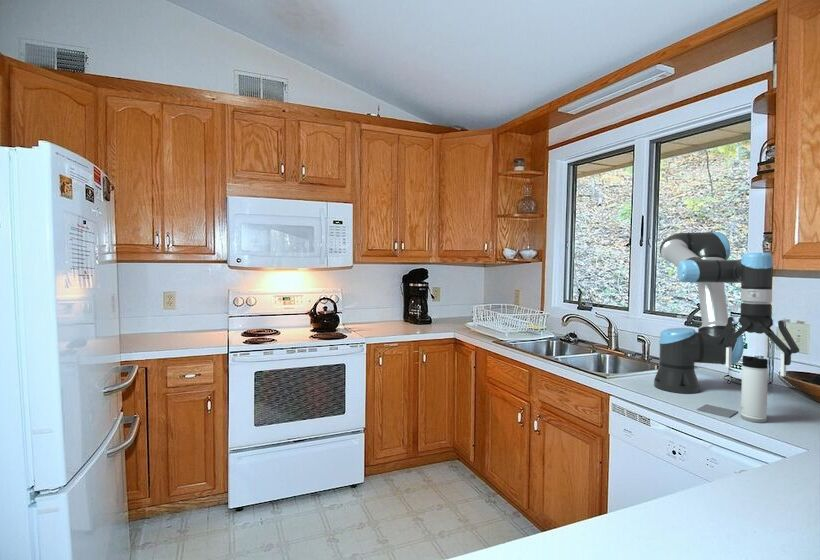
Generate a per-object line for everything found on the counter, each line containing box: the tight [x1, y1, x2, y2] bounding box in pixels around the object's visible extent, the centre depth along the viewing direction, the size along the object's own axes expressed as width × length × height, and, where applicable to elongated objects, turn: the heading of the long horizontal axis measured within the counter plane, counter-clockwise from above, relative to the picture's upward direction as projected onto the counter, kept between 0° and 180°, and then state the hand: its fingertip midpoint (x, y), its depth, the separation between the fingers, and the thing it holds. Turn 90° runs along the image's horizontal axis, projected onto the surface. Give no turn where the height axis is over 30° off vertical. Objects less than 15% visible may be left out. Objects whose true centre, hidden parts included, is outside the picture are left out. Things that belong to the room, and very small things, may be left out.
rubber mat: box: [696, 403, 739, 418], centre depth 142 cm, size 8×9×1 cm
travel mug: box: [740, 355, 769, 424], centre depth 134 cm, size 6×7×20 cm
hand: (754, 371), depth 134 cm, fingers open, 13 cm apart
